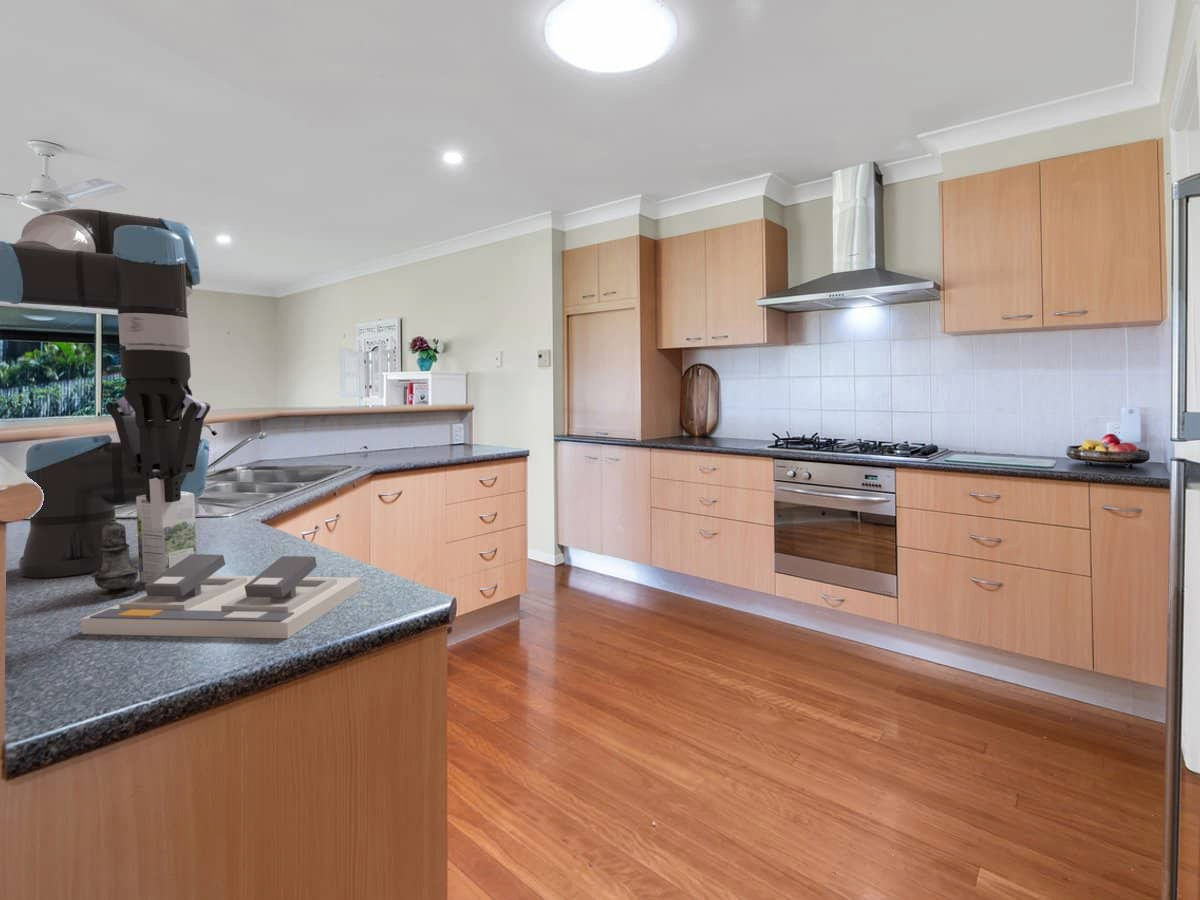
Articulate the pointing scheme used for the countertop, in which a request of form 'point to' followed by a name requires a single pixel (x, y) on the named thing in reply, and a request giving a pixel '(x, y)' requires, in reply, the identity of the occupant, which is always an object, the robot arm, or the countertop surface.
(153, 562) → the syrup box
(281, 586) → the switch
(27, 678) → the countertop surface
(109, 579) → the grey tiered stone piece
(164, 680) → the countertop surface
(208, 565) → the switch
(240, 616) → the switch panel
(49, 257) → the robot arm
